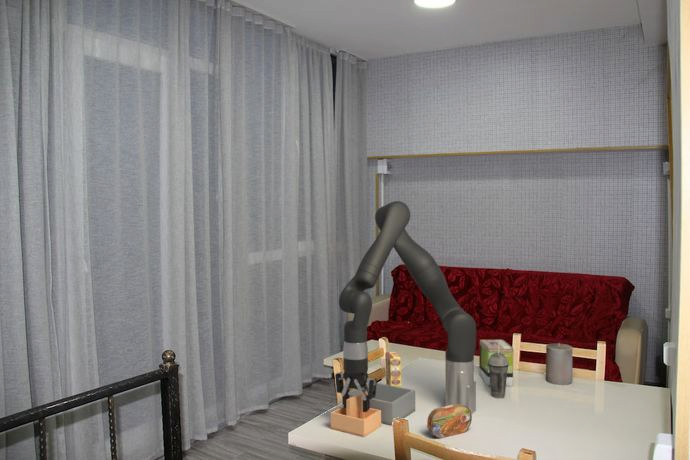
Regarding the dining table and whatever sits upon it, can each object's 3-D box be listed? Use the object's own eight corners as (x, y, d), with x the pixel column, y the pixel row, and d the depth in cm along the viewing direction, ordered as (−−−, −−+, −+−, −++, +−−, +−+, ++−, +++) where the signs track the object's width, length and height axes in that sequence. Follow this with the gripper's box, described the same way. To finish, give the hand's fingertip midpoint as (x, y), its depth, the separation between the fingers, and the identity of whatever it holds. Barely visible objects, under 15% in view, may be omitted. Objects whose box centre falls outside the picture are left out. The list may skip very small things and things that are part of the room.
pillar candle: (543, 377, 226) (543, 339, 225) (569, 377, 224) (569, 340, 224) (548, 384, 216) (548, 345, 215) (575, 385, 215) (575, 346, 214)
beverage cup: (486, 398, 201) (486, 342, 200) (489, 392, 208) (489, 337, 207) (507, 400, 198) (507, 343, 198) (509, 394, 205) (509, 339, 204)
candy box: (402, 401, 199) (402, 357, 198) (390, 401, 198) (390, 358, 198) (396, 393, 207) (396, 351, 207) (385, 393, 207) (384, 351, 206)
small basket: (381, 426, 176) (381, 395, 175) (364, 437, 167) (363, 404, 167) (348, 418, 182) (348, 388, 182) (330, 428, 174) (330, 397, 174)
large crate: (415, 410, 189) (415, 390, 189) (392, 425, 176) (392, 403, 176) (370, 401, 199) (369, 381, 198) (345, 414, 186) (345, 393, 185)
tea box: (514, 386, 214) (514, 347, 214) (487, 386, 214) (487, 347, 214) (503, 375, 229) (503, 338, 229) (478, 375, 229) (478, 338, 229)
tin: (431, 440, 165) (431, 412, 164) (425, 436, 167) (425, 408, 167) (472, 431, 172) (472, 403, 171) (465, 427, 174) (465, 400, 174)
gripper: (382, 356, 173) (382, 410, 174) (342, 349, 181) (343, 401, 182) (369, 361, 167) (369, 417, 167) (329, 354, 175) (329, 408, 175)
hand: (355, 409), depth 175 cm, fingers open, 6 cm apart
